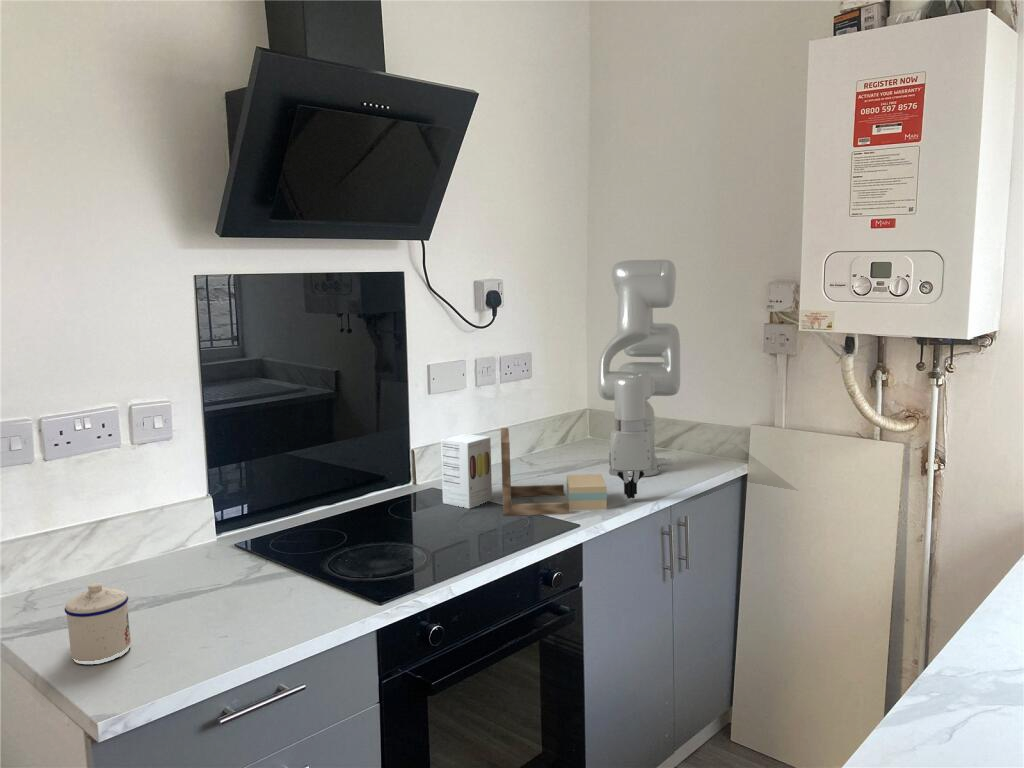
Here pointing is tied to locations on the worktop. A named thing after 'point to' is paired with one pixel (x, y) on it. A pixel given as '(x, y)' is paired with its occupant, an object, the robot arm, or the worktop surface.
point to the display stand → (526, 489)
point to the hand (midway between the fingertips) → (630, 496)
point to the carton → (586, 492)
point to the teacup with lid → (98, 623)
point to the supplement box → (466, 470)
